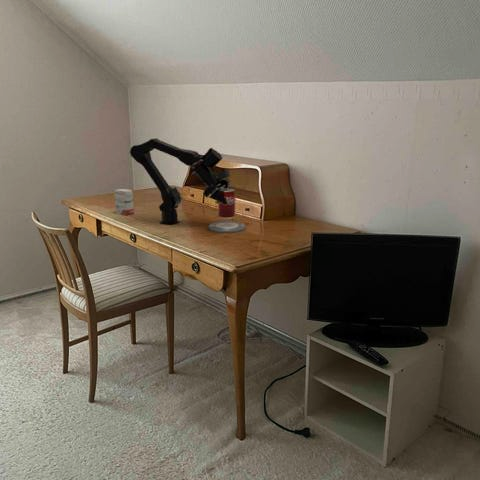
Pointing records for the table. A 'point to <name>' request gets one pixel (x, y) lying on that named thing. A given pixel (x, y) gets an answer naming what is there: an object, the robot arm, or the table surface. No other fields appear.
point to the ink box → (124, 201)
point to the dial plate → (227, 227)
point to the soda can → (229, 208)
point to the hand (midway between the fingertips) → (229, 202)
